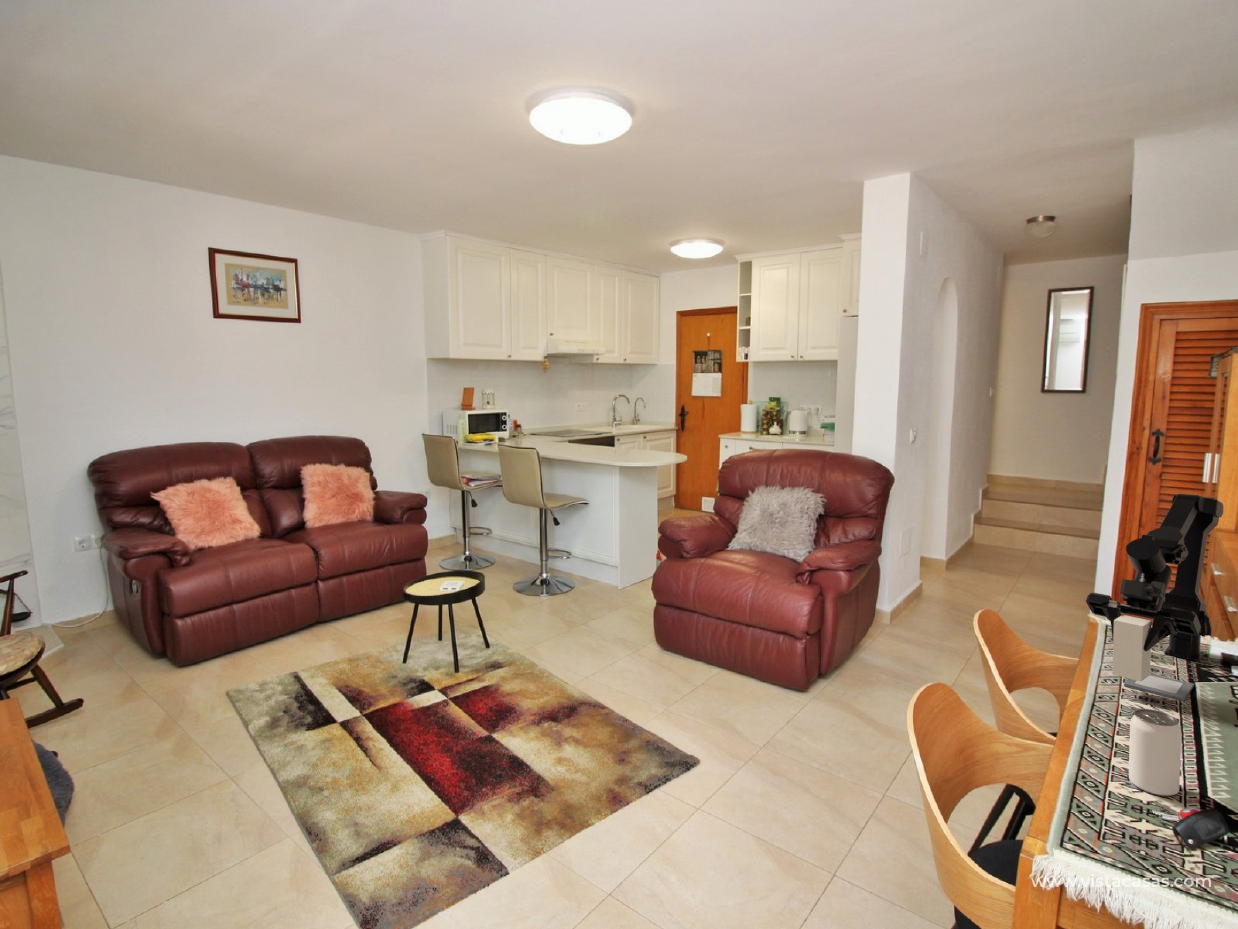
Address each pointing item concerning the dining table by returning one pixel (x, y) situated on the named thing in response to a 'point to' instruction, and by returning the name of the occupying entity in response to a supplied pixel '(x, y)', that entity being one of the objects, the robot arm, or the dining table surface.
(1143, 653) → the cream block
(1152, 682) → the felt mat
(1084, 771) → the dining table surface
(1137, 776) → the can
